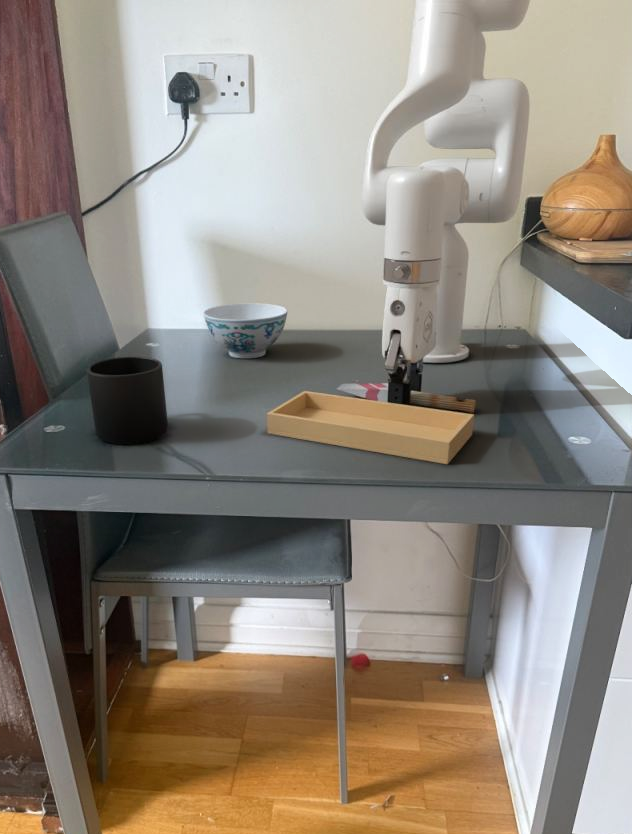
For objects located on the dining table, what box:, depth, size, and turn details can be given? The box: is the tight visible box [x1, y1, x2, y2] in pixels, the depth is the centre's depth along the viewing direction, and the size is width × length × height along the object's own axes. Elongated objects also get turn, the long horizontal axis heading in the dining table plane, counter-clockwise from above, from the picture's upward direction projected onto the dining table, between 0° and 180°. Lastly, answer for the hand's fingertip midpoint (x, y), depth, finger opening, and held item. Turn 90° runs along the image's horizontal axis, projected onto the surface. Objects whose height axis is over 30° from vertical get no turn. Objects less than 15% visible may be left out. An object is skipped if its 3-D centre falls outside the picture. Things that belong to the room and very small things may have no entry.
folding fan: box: [336, 382, 477, 414], centre depth 103 cm, size 4×3×20 cm
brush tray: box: [266, 390, 475, 465], centre depth 92 cm, size 11×24×3 cm, turn 62°
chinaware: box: [203, 302, 288, 359], centre depth 129 cm, size 15×15×8 cm
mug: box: [86, 356, 169, 445], centre depth 94 cm, size 9×12×9 cm
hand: (404, 402), depth 103 cm, fingers closed on folding fan, 3 cm apart
